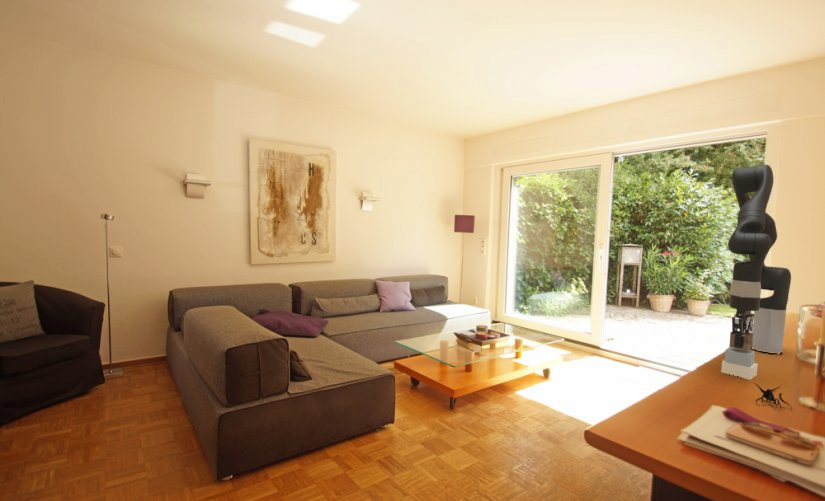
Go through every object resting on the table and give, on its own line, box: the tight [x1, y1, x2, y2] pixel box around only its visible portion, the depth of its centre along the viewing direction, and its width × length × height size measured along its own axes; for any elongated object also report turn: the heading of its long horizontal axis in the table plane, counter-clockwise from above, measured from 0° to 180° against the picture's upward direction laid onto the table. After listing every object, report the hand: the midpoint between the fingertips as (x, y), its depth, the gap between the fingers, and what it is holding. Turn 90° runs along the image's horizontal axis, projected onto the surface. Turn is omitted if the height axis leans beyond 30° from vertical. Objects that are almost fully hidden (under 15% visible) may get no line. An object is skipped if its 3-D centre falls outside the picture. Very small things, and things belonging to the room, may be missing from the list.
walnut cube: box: [728, 330, 753, 350], centre depth 131 cm, size 5×5×5 cm
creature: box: [753, 382, 793, 411], centre depth 108 cm, size 8×5×8 cm
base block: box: [720, 359, 759, 380], centre depth 131 cm, size 8×8×4 cm
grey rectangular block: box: [723, 347, 756, 368], centre depth 131 cm, size 6×6×4 cm
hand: (740, 345), depth 131 cm, fingers closed on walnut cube, 4 cm apart
